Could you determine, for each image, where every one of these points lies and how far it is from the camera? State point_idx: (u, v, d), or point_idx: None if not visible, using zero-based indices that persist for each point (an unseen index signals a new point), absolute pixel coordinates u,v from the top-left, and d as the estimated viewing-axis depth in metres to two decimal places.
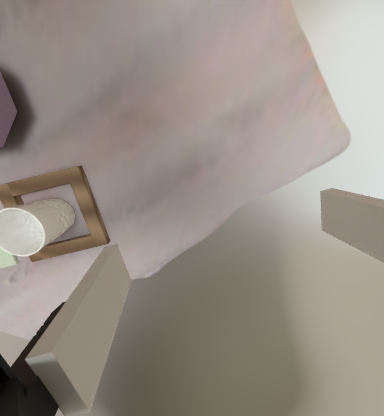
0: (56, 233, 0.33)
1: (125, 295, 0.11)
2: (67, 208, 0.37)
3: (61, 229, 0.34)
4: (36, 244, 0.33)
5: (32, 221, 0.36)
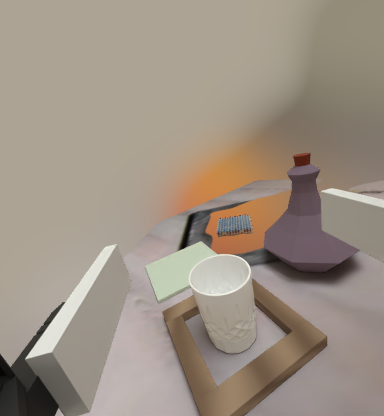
0: (221, 317, 0.22)
1: (125, 295, 0.11)
2: (251, 336, 0.24)
3: (225, 326, 0.22)
4: None
5: None
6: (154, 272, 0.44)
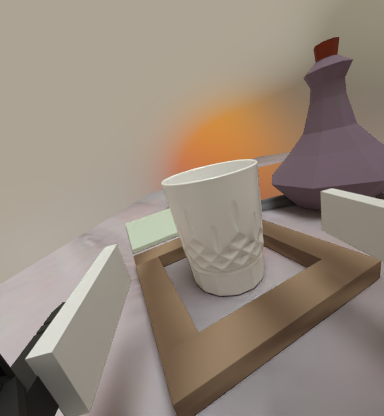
0: (209, 225, 0.13)
1: (125, 295, 0.11)
2: (257, 270, 0.16)
3: (215, 244, 0.14)
4: None
5: None
6: (134, 227, 0.36)
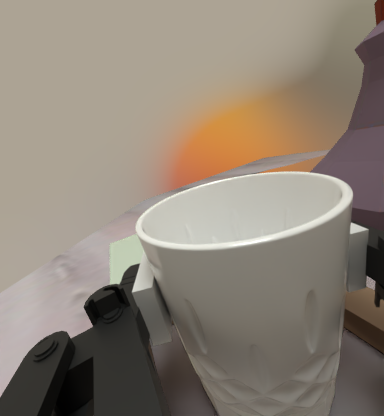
0: (245, 343, 0.05)
1: None
2: (330, 395, 0.08)
3: (256, 375, 0.06)
4: None
5: None
6: (119, 251, 0.28)
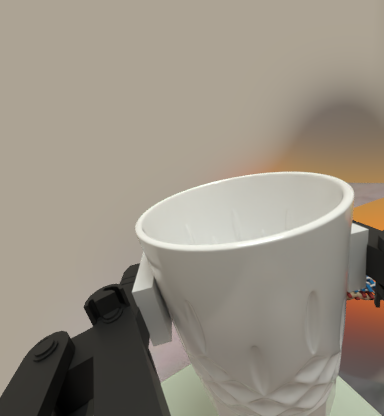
0: (246, 344, 0.05)
1: None
2: (330, 396, 0.08)
3: (257, 377, 0.06)
4: None
5: None
6: None
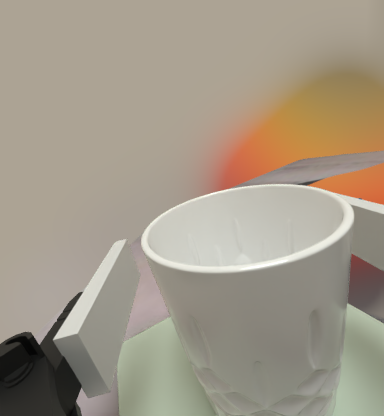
0: (249, 360, 0.06)
1: (135, 288, 0.11)
2: (331, 407, 0.08)
3: (260, 390, 0.06)
4: None
5: None
6: (144, 397, 0.11)
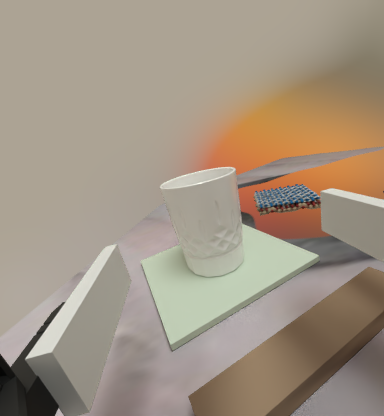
0: (197, 220, 0.17)
1: (125, 295, 0.11)
2: (236, 256, 0.20)
3: (202, 234, 0.18)
4: None
5: None
6: (158, 272, 0.23)
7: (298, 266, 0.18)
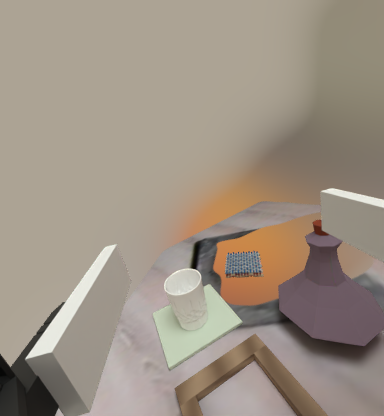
0: (181, 307, 0.37)
1: (125, 295, 0.11)
2: (202, 320, 0.40)
3: (184, 313, 0.38)
4: None
5: None
6: (162, 324, 0.43)
7: (230, 327, 0.38)
